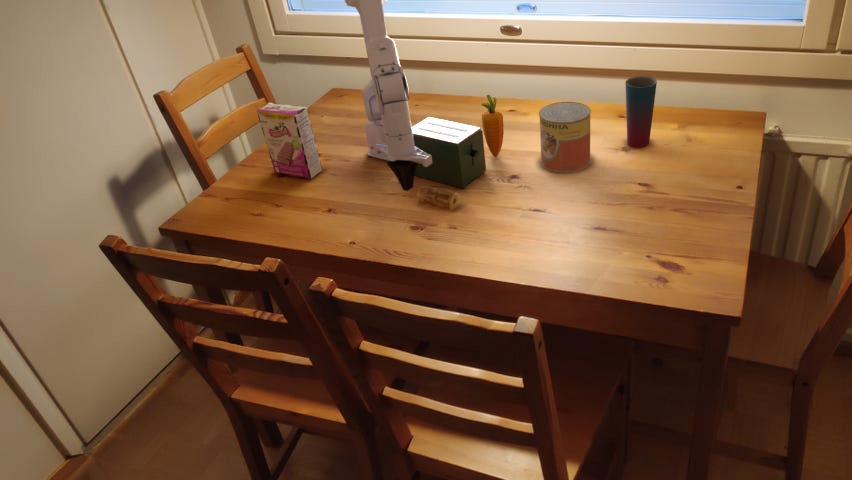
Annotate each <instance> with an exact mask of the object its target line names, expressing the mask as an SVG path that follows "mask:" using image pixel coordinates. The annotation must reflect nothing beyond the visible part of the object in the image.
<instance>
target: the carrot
mask: <svg viewBox="0 0 852 480" xmlns="http://www.w3.org/2000/svg"><path fill="white" fill-rule="evenodd" d="M486 98H487V101H488V102H486V103H485V102H481V106H482V107H485V108H486V109H487V110H485V111H484V112H483V113H481V123H482V131H483V136H484V138H485V142H486V145H487V148H488V149H489V151H490V153H491V155H492V156H493V157H494V158H497V157H498V156H499V154H500V152H501V149H502V147H503V143H504V133H505V132H504V116H503V114H502V112H501V111H500V110H499V109H496V106H497V98H496V97H492V96H491V94H489V93H488V94H487V95H486Z"/></svg>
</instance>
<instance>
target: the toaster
mask: <svg viewBox="0 0 852 480" xmlns="http://www.w3.org/2000/svg"><path fill="white" fill-rule="evenodd" d="M412 132H413V138H414V145H415V147H417V148H419V149H420V150H422V151H423V152H425V153H427V154H430V155H431V156H432V164H430V165H429V166H427V167H425V166H423V164H420V163H418V165H417V168H416V171H415V175H414V178H415V177H416V178H418V179H422V180H423V179H424V180H427V181H429V182H430V181H431V182H434V183H437V184H442V185H444V186H449V187H453V188H457V189H461V190H464V189H466V188H467V187H468V186H469V185H471V184H472V183H473V182H475V181H476V180H477V179H479V178H480V177H482V176H483V175H484V174H485V173H486V171H487V166H486V165H487V164H486V153H485V144H484V142H485V141H484V131H483V129H482V127H480V126H474V125H470V124H465V123H460V122H455V121H450V120H445V119H442V118H441V119H440V118H436V117H431V116H428V117H426V118H425V119H423V120H422V121H419V122H418V123H417V124H415V125H413V126H412Z"/></svg>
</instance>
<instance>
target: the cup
mask: <svg viewBox="0 0 852 480" xmlns="http://www.w3.org/2000/svg"><path fill="white" fill-rule="evenodd" d="M624 83H625V112H626V115H625V116H626V143H627V146H628V147H630V148H632V149H643V148H646V147H648V146H649V145H650V141H651V140H650V139H651V131H652V124H653V115H654V107H655V100H656V93H657V84H658V81H657V79H656V78H654V77H650V76H645V75H638V76H632V77H629V78H627V79H626V80H625V82H624Z"/></svg>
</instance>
